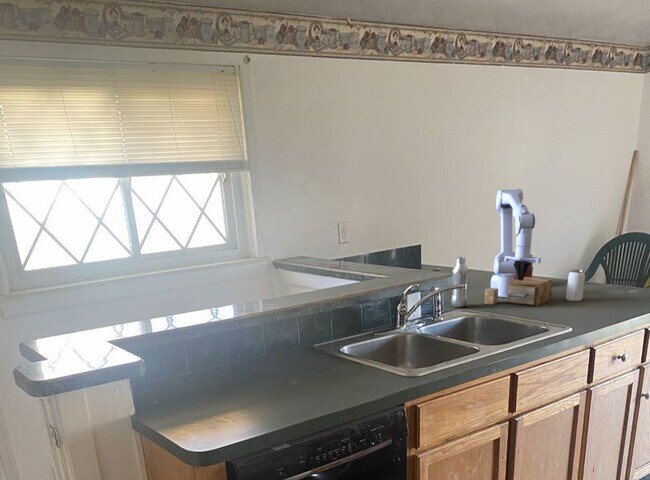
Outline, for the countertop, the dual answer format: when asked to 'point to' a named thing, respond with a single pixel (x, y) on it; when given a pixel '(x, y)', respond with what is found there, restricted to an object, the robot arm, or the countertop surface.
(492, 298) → the block
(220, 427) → the countertop surface
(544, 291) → the cabinet
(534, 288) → the drawer
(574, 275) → the can
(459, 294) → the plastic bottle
